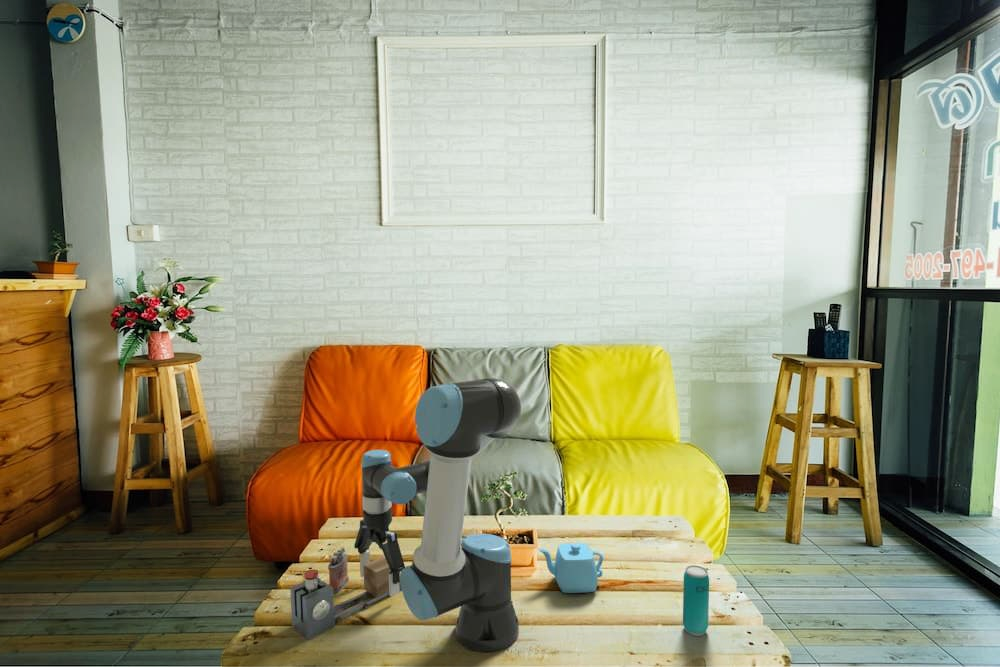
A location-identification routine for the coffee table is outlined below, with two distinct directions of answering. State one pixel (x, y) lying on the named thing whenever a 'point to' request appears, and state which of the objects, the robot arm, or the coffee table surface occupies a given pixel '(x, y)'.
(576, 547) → the teapot
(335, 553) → the red pack with sticks
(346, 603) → the rail track
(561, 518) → the coffee table surface
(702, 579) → the beverage can
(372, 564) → the carriage
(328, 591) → the gauge cabinet
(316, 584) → the gauge plunger
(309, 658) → the coffee table surface
